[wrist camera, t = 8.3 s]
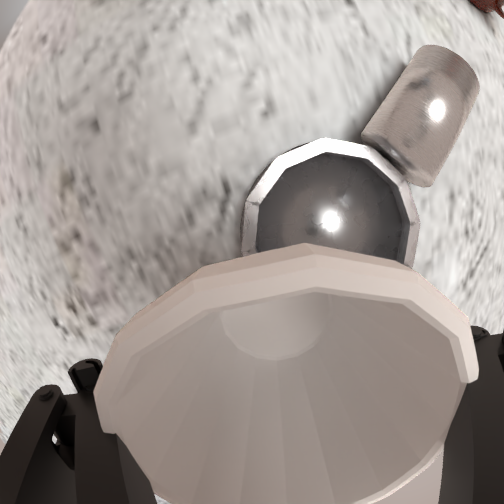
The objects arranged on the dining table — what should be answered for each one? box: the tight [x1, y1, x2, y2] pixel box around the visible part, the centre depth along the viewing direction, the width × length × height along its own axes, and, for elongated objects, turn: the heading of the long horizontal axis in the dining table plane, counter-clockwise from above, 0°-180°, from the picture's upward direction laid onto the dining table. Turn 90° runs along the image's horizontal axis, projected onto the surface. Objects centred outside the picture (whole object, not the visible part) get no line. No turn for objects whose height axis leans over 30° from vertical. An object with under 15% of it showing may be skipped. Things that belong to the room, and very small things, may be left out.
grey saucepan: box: [241, 45, 480, 269], centre depth 23 cm, size 31×18×8 cm, turn 145°
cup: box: [93, 243, 479, 504], centre depth 10 cm, size 10×10×9 cm
